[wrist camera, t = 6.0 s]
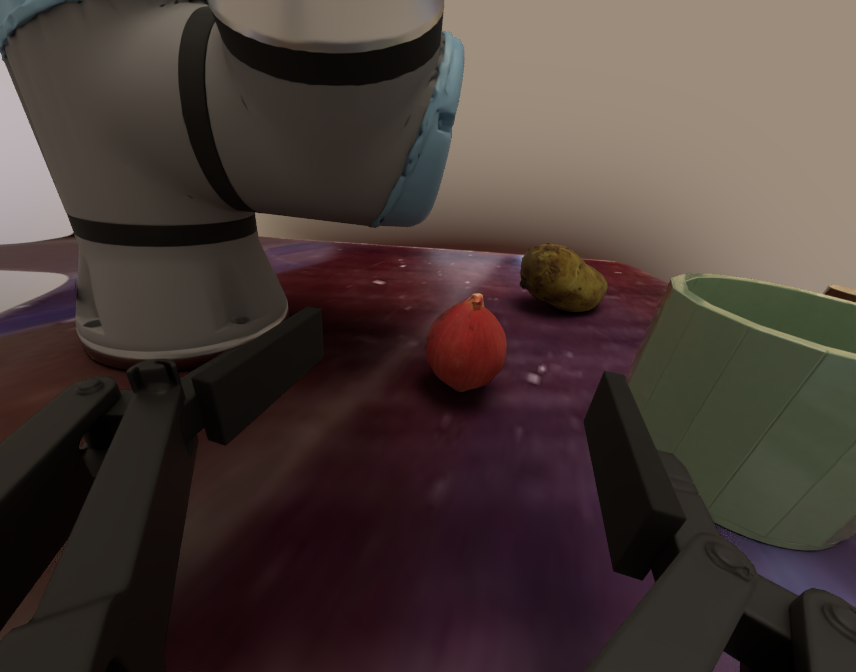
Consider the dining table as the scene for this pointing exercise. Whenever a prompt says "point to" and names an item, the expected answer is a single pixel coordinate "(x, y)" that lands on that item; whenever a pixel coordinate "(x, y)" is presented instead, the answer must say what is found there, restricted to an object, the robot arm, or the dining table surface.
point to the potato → (561, 278)
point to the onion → (466, 345)
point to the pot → (756, 404)
